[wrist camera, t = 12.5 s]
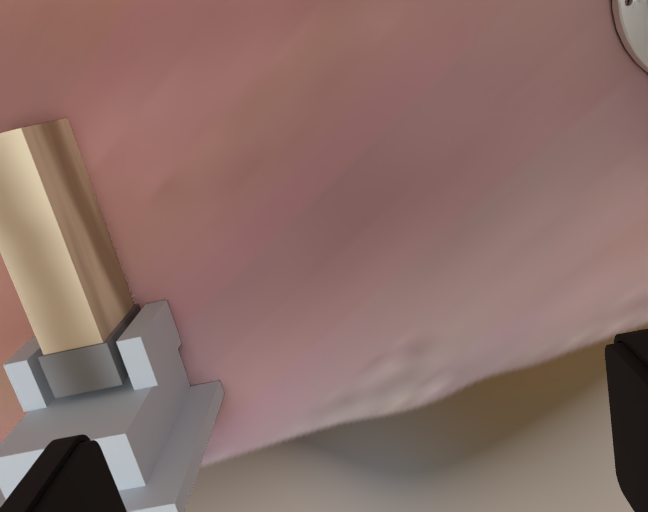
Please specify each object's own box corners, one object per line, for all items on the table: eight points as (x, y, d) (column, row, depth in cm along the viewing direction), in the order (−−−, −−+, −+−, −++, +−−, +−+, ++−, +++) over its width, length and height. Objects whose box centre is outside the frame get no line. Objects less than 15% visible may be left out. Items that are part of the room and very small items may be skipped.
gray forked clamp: (22, 330, 44) (-102, 437, 31) (192, 294, 42) (132, 390, 30) (63, 425, 46) (-37, 559, 34) (224, 394, 45) (181, 521, 33)
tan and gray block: (72, 116, 39) (24, 127, 33) (151, 340, 44) (122, 384, 38) (6, 132, 39) (-52, 145, 33) (92, 352, 44) (55, 398, 38)
